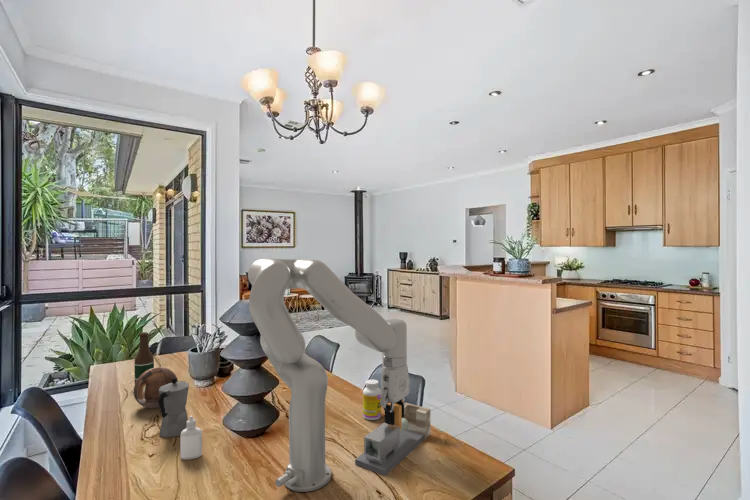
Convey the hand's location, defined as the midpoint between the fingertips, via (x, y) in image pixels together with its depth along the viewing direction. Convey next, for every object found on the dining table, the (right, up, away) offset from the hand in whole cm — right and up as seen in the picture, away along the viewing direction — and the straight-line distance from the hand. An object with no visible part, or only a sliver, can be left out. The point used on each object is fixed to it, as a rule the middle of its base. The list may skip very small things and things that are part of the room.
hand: (394, 419), depth 117 cm
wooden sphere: (-91, -9, +32) cm, 96 cm away
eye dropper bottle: (-60, -9, -4) cm, 61 cm away
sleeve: (-4, -8, -6) cm, 10 cm away
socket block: (+7, -9, +10) cm, 15 cm away
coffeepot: (-73, -9, +11) cm, 75 cm away
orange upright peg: (-1, -5, -2) cm, 5 cm away
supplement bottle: (-7, -9, +22) cm, 25 cm away
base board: (-1, -9, -1) cm, 9 cm away
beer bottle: (-108, -9, +53) cm, 120 cm away
